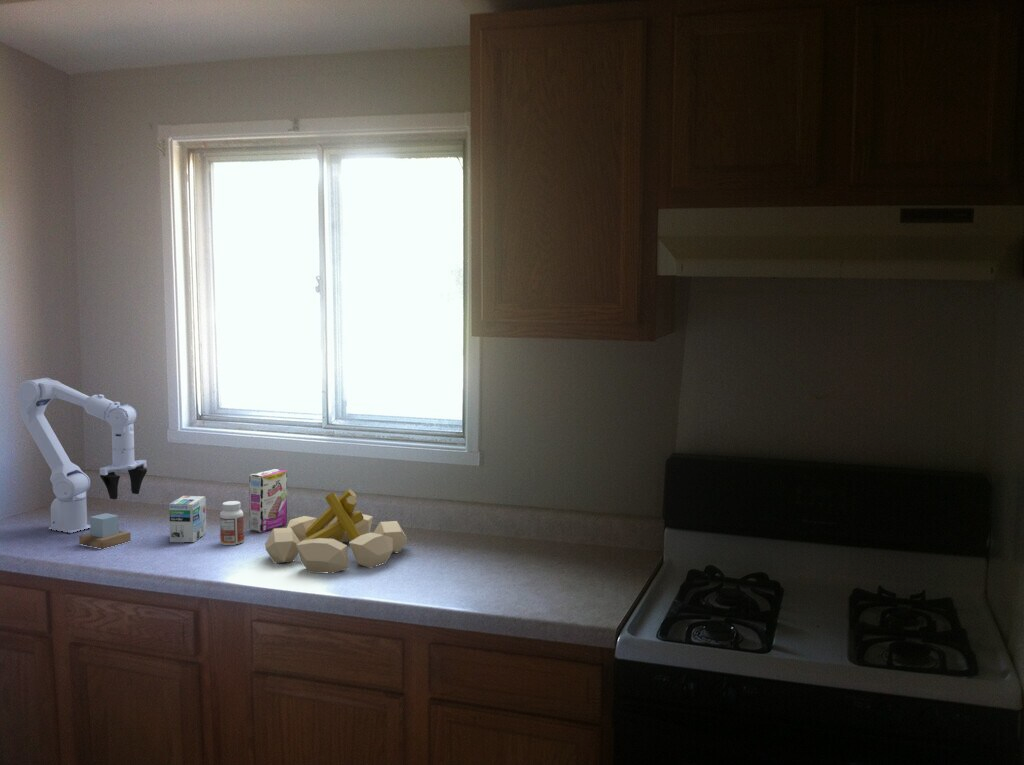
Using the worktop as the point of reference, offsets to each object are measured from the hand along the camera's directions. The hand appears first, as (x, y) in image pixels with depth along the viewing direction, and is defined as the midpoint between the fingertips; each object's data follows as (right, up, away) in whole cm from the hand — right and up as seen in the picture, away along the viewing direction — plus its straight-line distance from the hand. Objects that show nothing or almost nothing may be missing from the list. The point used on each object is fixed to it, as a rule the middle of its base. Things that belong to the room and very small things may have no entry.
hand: (124, 496), depth 266 cm
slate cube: (0, -9, -13) cm, 15 cm away
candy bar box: (+39, -10, +6) cm, 41 cm away
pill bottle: (+33, -12, -10) cm, 37 cm away
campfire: (+64, -13, -20) cm, 68 cm away
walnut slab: (0, -12, -12) cm, 17 cm away
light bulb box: (+20, -11, -6) cm, 24 cm away
